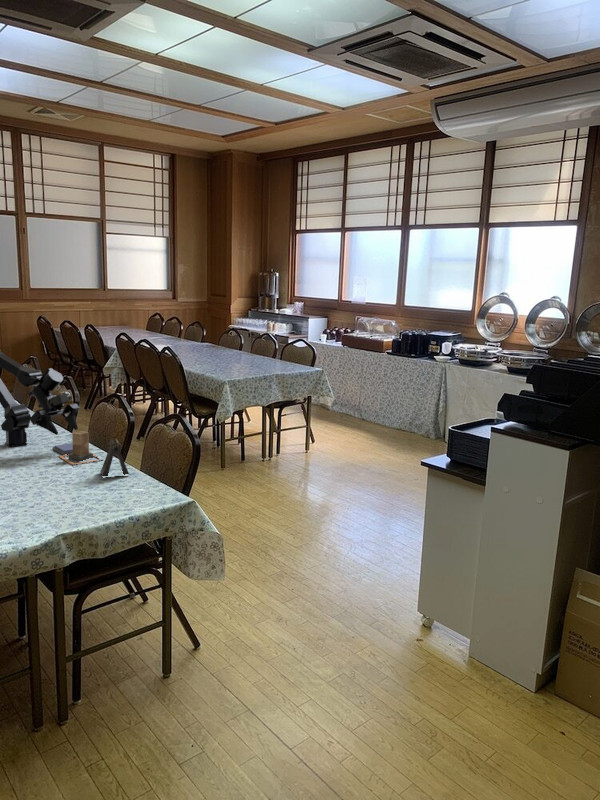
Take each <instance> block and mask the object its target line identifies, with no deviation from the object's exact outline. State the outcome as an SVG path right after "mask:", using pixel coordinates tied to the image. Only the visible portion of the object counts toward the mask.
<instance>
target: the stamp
mask: <svg viewBox="0 0 600 800" xmlns="http://www.w3.org/2000/svg"><path fill="white" fill-rule="evenodd" d="M71 434H72V435H71V436H72V442H71V443H73V453H71V454H68V455H69V456H68V460H70V459H72V460H71V461H74V460H76V461H75V462H78V461H83V460H86V459H89V458H93V459H94V456H93V454H94V452H91V453H89V452H90V433H89V432H88V431H84V430H79V431H78V430H77V431H75V432H72V433H71ZM86 461H87V460H86ZM83 462H84V461H83Z"/></svg>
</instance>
